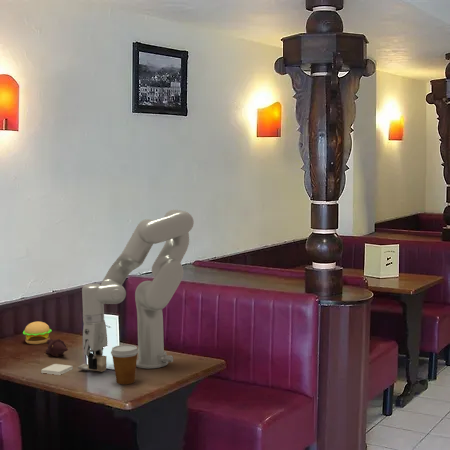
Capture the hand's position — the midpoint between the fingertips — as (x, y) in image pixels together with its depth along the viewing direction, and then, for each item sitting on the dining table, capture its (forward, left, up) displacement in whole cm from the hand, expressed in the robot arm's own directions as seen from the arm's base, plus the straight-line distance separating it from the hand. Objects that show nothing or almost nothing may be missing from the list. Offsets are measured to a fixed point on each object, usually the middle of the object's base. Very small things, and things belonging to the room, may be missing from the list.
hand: (95, 367), depth 261 cm
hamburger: (+48, -31, -2) cm, 57 cm away
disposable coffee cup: (-16, +8, -2) cm, 18 cm away
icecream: (+26, -14, -2) cm, 30 cm away
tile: (+10, +4, -1) cm, 11 cm away
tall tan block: (+1, 0, -1) cm, 2 cm away
